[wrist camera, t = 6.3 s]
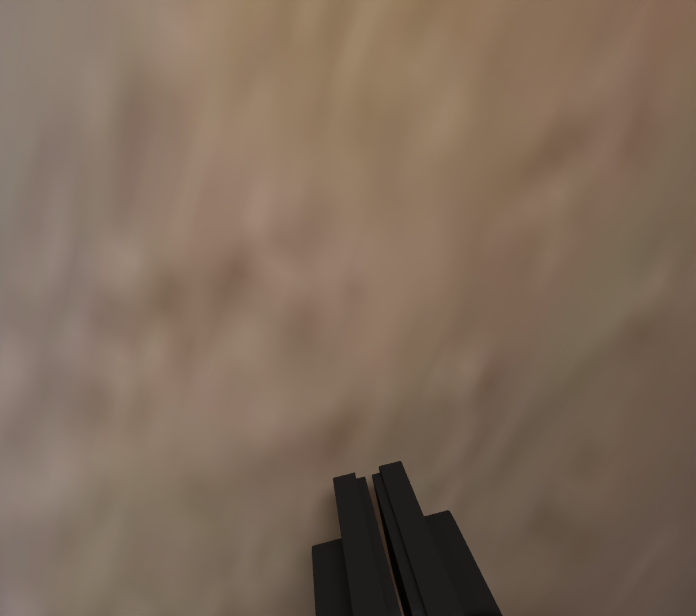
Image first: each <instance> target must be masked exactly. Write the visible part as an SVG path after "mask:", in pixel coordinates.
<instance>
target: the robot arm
mask: <svg viewBox="0 0 696 616" xmlns="http://www.w3.org/2000/svg"><path fill="white" fill-rule="evenodd" d="M379 471H380V473H377V474H373V475H372V478H373V483H374V488H375V492H376V497H377V502H378V506H379V511H380V516H381V520H382V525H383V530H384V534H385V539H386V544H387V548H388V553H389V558H390V562H391V567H392V571H393V575H394V579H395V583H396V586H397V590H398V594H399V597H400V601H401V605H402V609H403V612H404V616H502V614H501V612H500V610H499V608H498V606H497V604H496V602H495V600H494V598H493V596H492V594H491V592H490V590H489V588H488V586H487V584H486V582H485V580H484V578H483V576H482V574H481V572H480V570H479V568H478V566H477V564H476V562H475V560H474V558H473V556H472V554H471V552H470V550H469V548H468V546H467V544H466V542H465V540H464V538H463V536H462V534H461V532H460V530H459V528H458V526H457V524H456V522H455V520H454V518H453V516H452V514H451V513H450V511H448V510H447V511H443V512H439V513H436V514H432V515H428V516H423V513H422V511H421V508H420V506H419V503H418V501H417V499H416V496H415V494H414V491H413V489H412V486H411V484H410V482H409V479H408V477H407V474H406V472H405V469H404V467H403V465H402V462H401V461H398V462H394V463H390V464H386V465H382V466H379ZM333 483H334V489H335V496H336V503H337V509H338V516H339V523H340V529H341V536H342V538H341V539H337V540H333V541H329V542H326V543H322V544H318V545H314V546H312V560H313V576H314V593H315V609H316V616H401V612H400V608H399V604H398V600H397V597H396V593H395V589H394V585H393V581H392V578H391V574H390V570H389V566H388V562H387V559H386V555H385V551H384V547H383V543H382V540H381V536H380V532H379V528H378V524H377V521H376V517H375V513H374V509H373V505H372V501H371V498H370V494H369V490H368V486H367V482H366V479H365V477H361V478H357V479H356V476H355V473H351V474H347V475H343V476H339V477H335V478H333Z"/></svg>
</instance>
